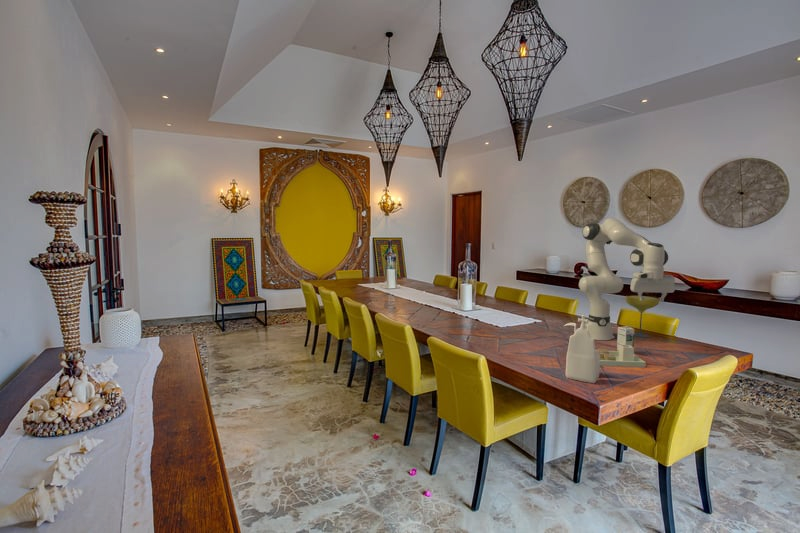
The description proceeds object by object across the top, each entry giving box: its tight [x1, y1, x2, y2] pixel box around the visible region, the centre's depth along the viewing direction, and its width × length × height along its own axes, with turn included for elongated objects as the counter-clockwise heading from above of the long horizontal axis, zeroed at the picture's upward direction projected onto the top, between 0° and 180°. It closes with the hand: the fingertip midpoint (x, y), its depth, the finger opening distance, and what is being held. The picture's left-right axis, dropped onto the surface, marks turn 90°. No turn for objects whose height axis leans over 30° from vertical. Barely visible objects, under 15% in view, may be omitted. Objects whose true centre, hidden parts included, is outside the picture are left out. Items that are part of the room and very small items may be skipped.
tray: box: [599, 350, 647, 368], centre depth 203 cm, size 17×22×4 cm
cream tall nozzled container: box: [563, 314, 601, 384], centre depth 184 cm, size 17×14×30 cm
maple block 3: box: [604, 354, 616, 361], centre depth 199 cm, size 4×4×4 cm
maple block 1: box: [597, 348, 610, 354], centre depth 208 cm, size 4×4×4 cm
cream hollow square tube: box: [619, 345, 635, 361], centre depth 201 cm, size 5×5×8 cm
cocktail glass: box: [625, 294, 660, 339], centre depth 252 cm, size 18×18×25 cm
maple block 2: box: [598, 351, 606, 360], centre depth 203 cm, size 4×4×4 cm
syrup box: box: [616, 325, 635, 351], centre depth 217 cm, size 6×6×14 cm
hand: (651, 300), depth 207 cm, fingers open, 8 cm apart
